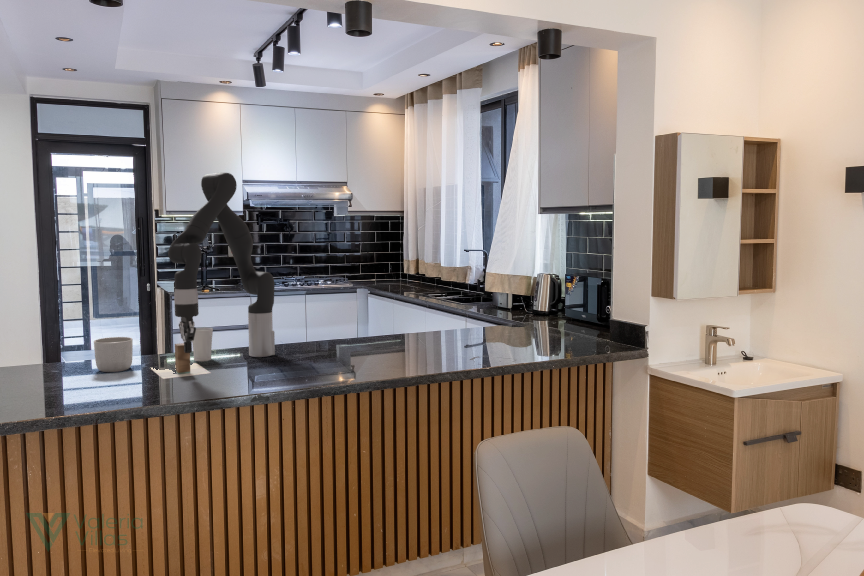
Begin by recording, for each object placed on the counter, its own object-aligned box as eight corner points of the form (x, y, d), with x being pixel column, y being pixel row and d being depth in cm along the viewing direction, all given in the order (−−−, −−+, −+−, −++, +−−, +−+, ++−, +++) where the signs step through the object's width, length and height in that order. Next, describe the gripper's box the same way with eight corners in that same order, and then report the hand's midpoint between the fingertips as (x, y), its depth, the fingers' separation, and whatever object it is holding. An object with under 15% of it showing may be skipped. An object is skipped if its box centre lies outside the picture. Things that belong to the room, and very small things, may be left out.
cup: (206, 362, 250) (205, 331, 249) (187, 361, 252) (186, 330, 250) (217, 358, 258) (216, 327, 257) (198, 357, 259) (197, 326, 258)
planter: (114, 375, 228) (113, 343, 227) (86, 372, 233) (85, 341, 232) (141, 368, 240) (140, 338, 239) (114, 365, 244) (113, 335, 243)
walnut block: (187, 370, 235) (186, 342, 234) (190, 372, 232) (189, 344, 231) (175, 372, 233) (174, 343, 232) (178, 374, 230) (177, 345, 229)
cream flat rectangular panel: (195, 363, 248) (195, 362, 248) (211, 373, 232) (211, 373, 232) (149, 368, 239) (149, 367, 239) (162, 379, 223) (162, 378, 223)
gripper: (203, 303, 221) (204, 354, 223) (192, 299, 232) (193, 348, 234) (180, 304, 217) (181, 357, 219) (169, 300, 228) (171, 350, 229)
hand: (187, 352), depth 226 cm, fingers closed
